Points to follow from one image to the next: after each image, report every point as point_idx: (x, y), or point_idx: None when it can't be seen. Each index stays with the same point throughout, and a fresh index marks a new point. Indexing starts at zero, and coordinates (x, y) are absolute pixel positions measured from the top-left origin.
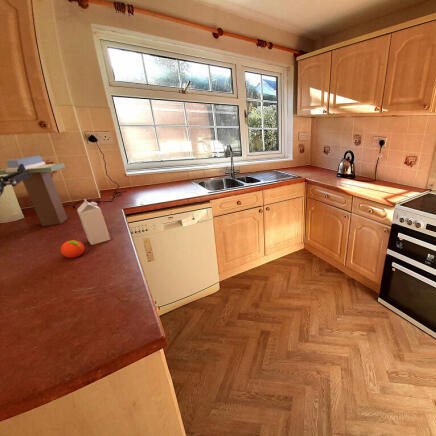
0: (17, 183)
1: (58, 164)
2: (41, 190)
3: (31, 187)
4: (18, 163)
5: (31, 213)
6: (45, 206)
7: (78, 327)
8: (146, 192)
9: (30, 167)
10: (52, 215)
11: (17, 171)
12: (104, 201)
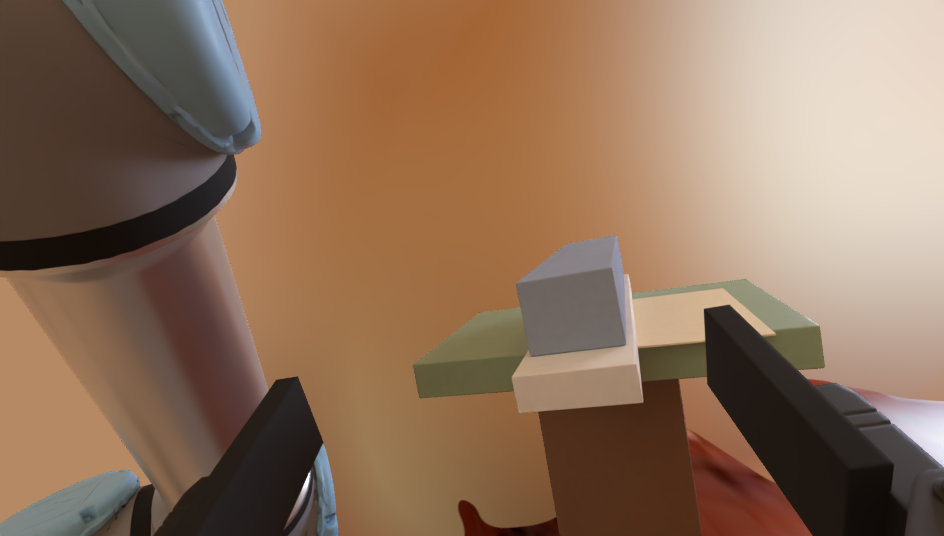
0: None
1: (747, 289)
2: (655, 523)
3: (591, 492)
4: (618, 300)
5: (473, 526)
6: None
7: None
8: (912, 418)
9: (635, 330)
10: None
11: (919, 528)
12: (752, 475)
